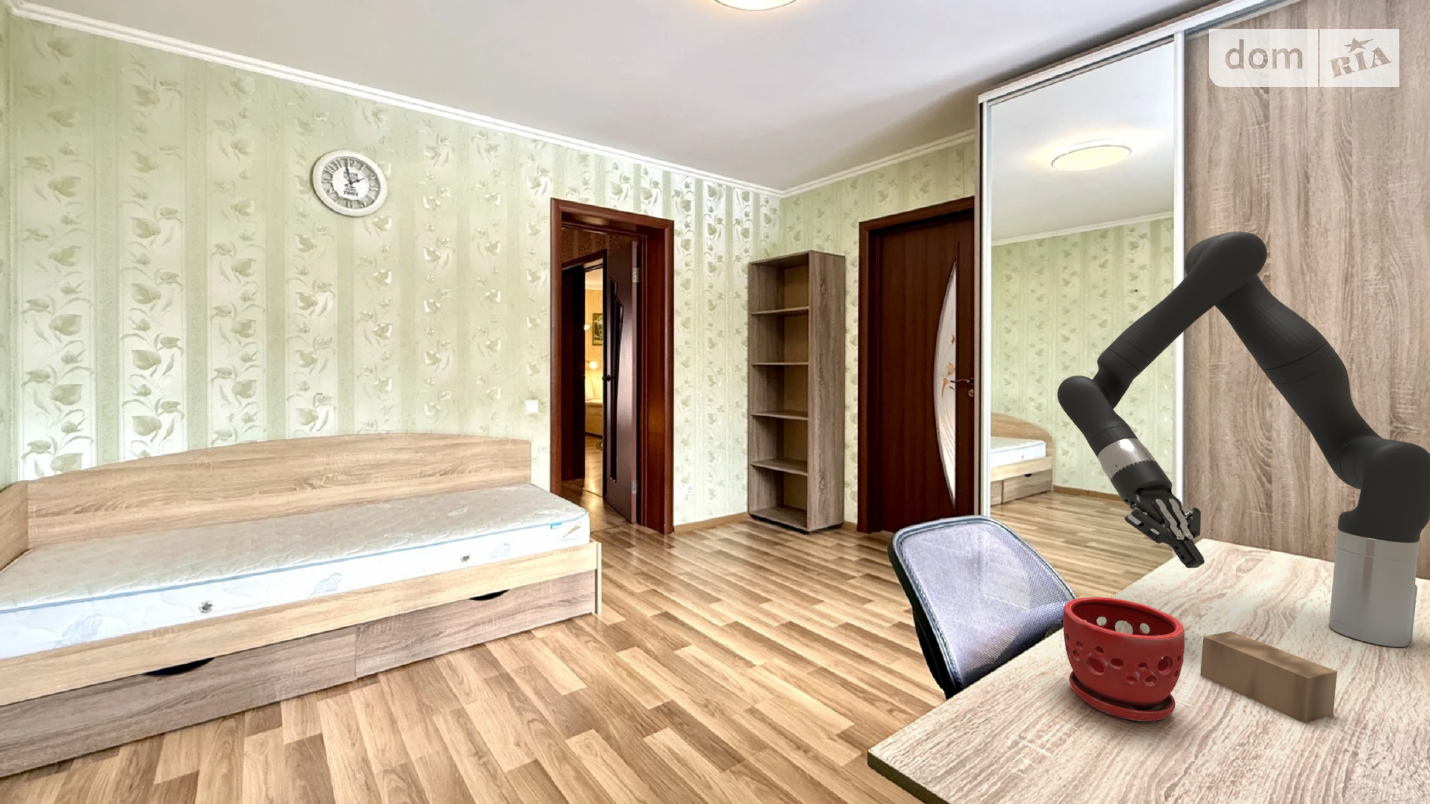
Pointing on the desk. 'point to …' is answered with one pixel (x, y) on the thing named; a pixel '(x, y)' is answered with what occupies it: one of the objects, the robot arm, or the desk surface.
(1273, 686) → the walnut block
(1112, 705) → the plant pot
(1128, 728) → the desk surface
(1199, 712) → the desk surface
